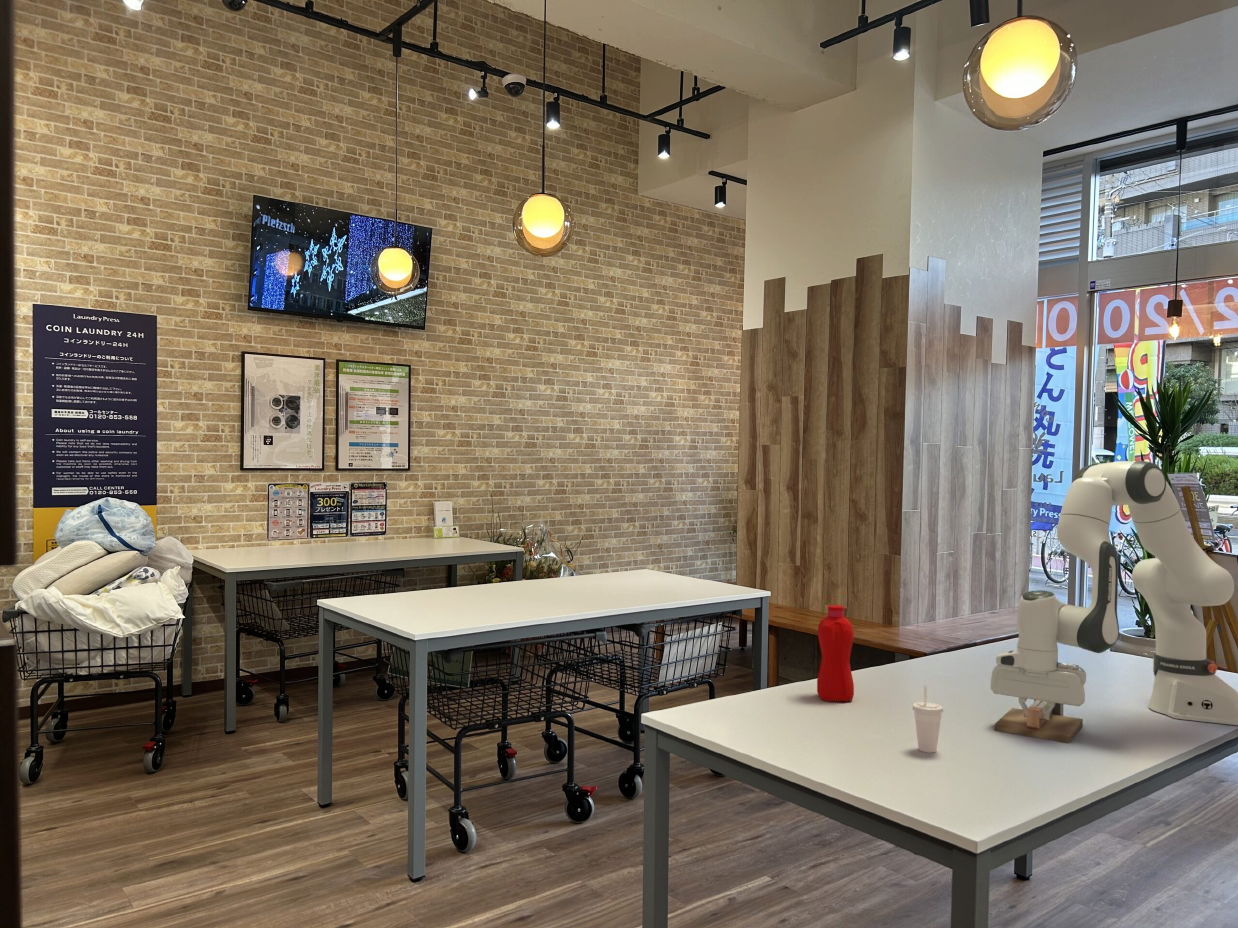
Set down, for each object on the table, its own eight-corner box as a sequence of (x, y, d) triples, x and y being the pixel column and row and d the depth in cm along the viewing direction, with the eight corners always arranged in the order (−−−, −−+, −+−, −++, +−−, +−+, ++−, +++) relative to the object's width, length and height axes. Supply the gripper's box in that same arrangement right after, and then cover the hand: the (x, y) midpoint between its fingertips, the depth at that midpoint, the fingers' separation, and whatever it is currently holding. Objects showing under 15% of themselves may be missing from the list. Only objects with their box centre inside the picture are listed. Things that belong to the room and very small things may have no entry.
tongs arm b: (1040, 711, 219) (1040, 695, 219) (1045, 712, 219) (1045, 695, 219) (1026, 726, 206) (1026, 708, 206) (1032, 727, 206) (1032, 709, 206)
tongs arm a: (1047, 712, 218) (1047, 696, 218) (1052, 713, 218) (1052, 696, 218) (1032, 727, 206) (1033, 709, 206) (1038, 728, 205) (1039, 710, 205)
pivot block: (1063, 717, 221) (1063, 690, 221) (1060, 720, 217) (1060, 694, 217) (1037, 713, 224) (1037, 687, 224) (1033, 716, 221) (1034, 690, 221)
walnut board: (1082, 724, 214) (1082, 718, 214) (1069, 742, 200) (1069, 736, 200) (1012, 713, 224) (1012, 707, 224) (994, 730, 209) (994, 723, 209)
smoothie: (918, 743, 198) (918, 681, 198) (947, 749, 194) (947, 685, 194) (907, 750, 193) (908, 686, 193) (936, 756, 189) (937, 691, 189)
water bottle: (848, 692, 243) (849, 602, 243) (855, 703, 232) (856, 608, 232) (814, 691, 244) (815, 601, 244) (819, 702, 233) (820, 607, 233)
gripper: (1088, 663, 205) (1087, 723, 205) (995, 652, 218) (994, 708, 217) (1083, 668, 200) (1083, 729, 200) (989, 656, 212) (988, 713, 212)
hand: (1036, 718), depth 209 cm, fingers closed
